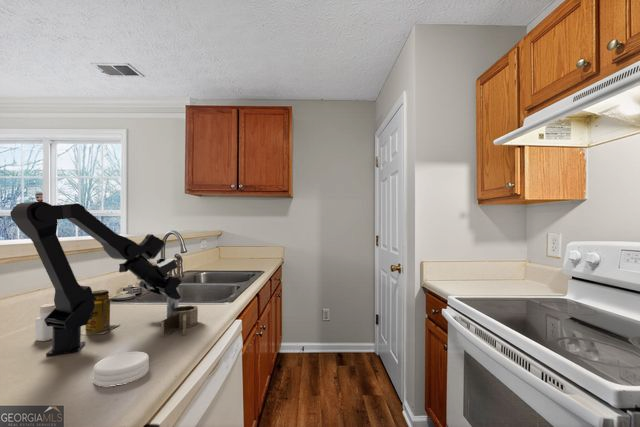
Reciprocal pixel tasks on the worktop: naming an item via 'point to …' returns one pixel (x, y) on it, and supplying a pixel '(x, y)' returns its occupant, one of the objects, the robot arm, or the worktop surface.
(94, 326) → the condiment
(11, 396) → the worktop surface
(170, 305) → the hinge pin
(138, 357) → the coaster
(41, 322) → the pepper shaker
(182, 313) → the hinge
